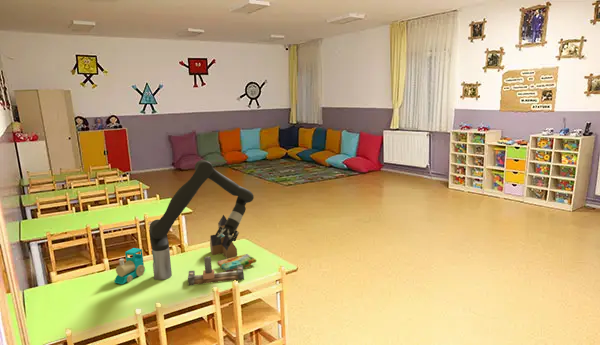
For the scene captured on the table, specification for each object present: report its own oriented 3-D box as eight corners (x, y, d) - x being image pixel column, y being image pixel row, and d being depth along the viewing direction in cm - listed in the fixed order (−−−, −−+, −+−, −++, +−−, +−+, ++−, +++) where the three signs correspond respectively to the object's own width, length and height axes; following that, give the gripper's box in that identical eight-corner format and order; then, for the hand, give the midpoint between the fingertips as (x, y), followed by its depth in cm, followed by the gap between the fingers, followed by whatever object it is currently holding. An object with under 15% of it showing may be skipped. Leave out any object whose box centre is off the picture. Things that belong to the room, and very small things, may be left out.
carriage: (203, 279, 225) (201, 260, 222) (203, 275, 230) (202, 256, 228) (214, 278, 226) (213, 259, 223) (214, 273, 231) (213, 255, 229)
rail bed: (188, 285, 222) (187, 277, 221) (189, 278, 230) (188, 270, 230) (243, 279, 227) (243, 271, 226) (242, 272, 236) (242, 264, 235)
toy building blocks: (229, 248, 273) (226, 212, 268) (237, 258, 257) (235, 220, 252) (210, 252, 268) (207, 215, 263) (217, 262, 251) (215, 223, 246)
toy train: (112, 283, 227) (109, 258, 224) (135, 271, 242) (132, 247, 239) (123, 286, 224) (120, 260, 221) (145, 273, 239) (142, 249, 236)
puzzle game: (217, 260, 243) (247, 252, 254) (217, 267, 244) (247, 259, 255) (225, 267, 234) (256, 258, 245) (225, 274, 235) (256, 265, 246)
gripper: (221, 215, 242) (208, 240, 235) (239, 219, 234) (226, 244, 227) (228, 221, 247) (216, 245, 240) (246, 225, 240) (234, 250, 233)
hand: (221, 245), depth 234 cm, fingers open, 8 cm apart
